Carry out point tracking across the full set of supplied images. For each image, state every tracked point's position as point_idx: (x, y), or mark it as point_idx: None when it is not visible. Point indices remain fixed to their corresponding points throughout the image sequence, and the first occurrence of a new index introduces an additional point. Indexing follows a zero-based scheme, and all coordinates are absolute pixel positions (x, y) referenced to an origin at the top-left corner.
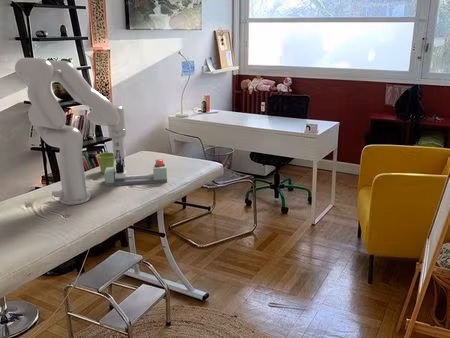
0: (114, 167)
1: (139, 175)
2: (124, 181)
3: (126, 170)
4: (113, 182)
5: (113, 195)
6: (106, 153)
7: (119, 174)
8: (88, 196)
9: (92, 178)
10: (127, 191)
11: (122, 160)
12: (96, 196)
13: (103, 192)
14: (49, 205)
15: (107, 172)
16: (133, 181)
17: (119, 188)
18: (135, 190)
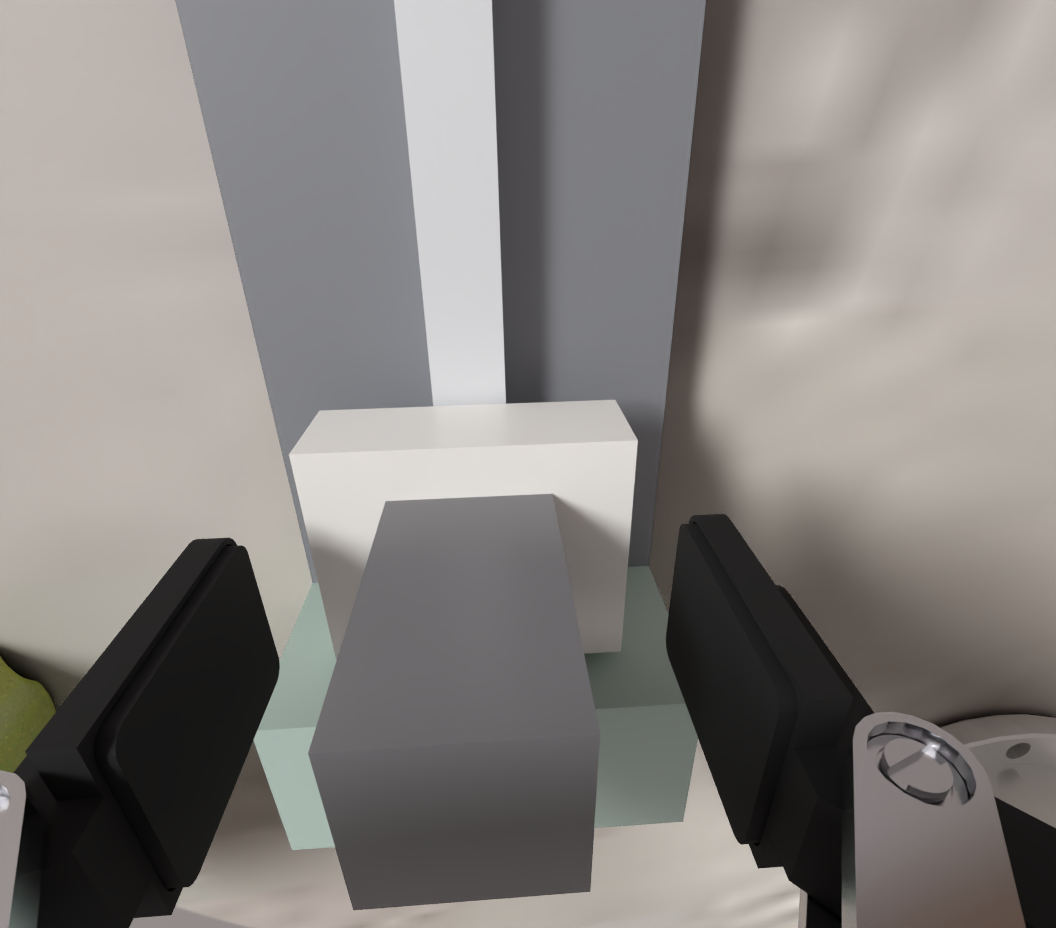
0: (281, 734)
1: (464, 48)
2: (649, 409)
3: (331, 447)
4: (646, 574)
5: (1049, 498)
6: None
7: (623, 564)
8: (1033, 748)
9: None
10: (997, 309)
11: (144, 751)
12: (965, 670)
13: (865, 624)
14: None
15: (624, 790)
16: (680, 220)
17: (793, 451)
18: (1026, 155)
